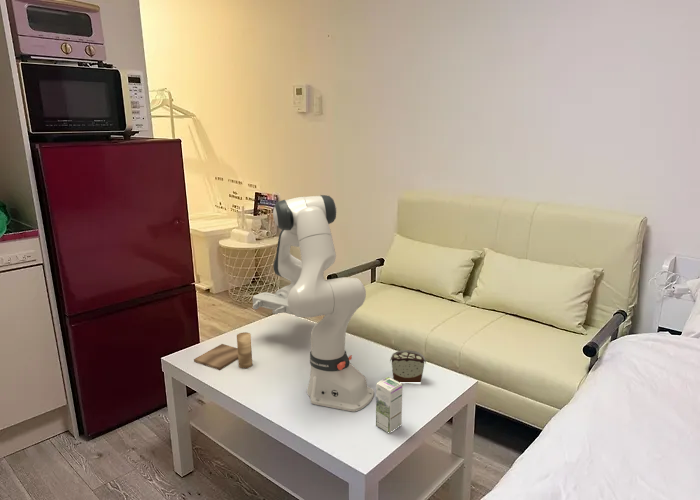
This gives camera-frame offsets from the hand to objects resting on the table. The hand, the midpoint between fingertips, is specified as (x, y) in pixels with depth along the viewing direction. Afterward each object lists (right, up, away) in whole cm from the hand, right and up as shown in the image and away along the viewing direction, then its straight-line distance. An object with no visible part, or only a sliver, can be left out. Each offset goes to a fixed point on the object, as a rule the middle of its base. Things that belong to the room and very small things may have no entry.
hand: (264, 309), depth 192 cm
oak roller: (-6, -20, -6) cm, 21 cm away
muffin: (+53, -23, -15) cm, 60 cm away
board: (-16, -18, 0) cm, 24 cm away
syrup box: (+44, -30, -42) cm, 68 cm away
